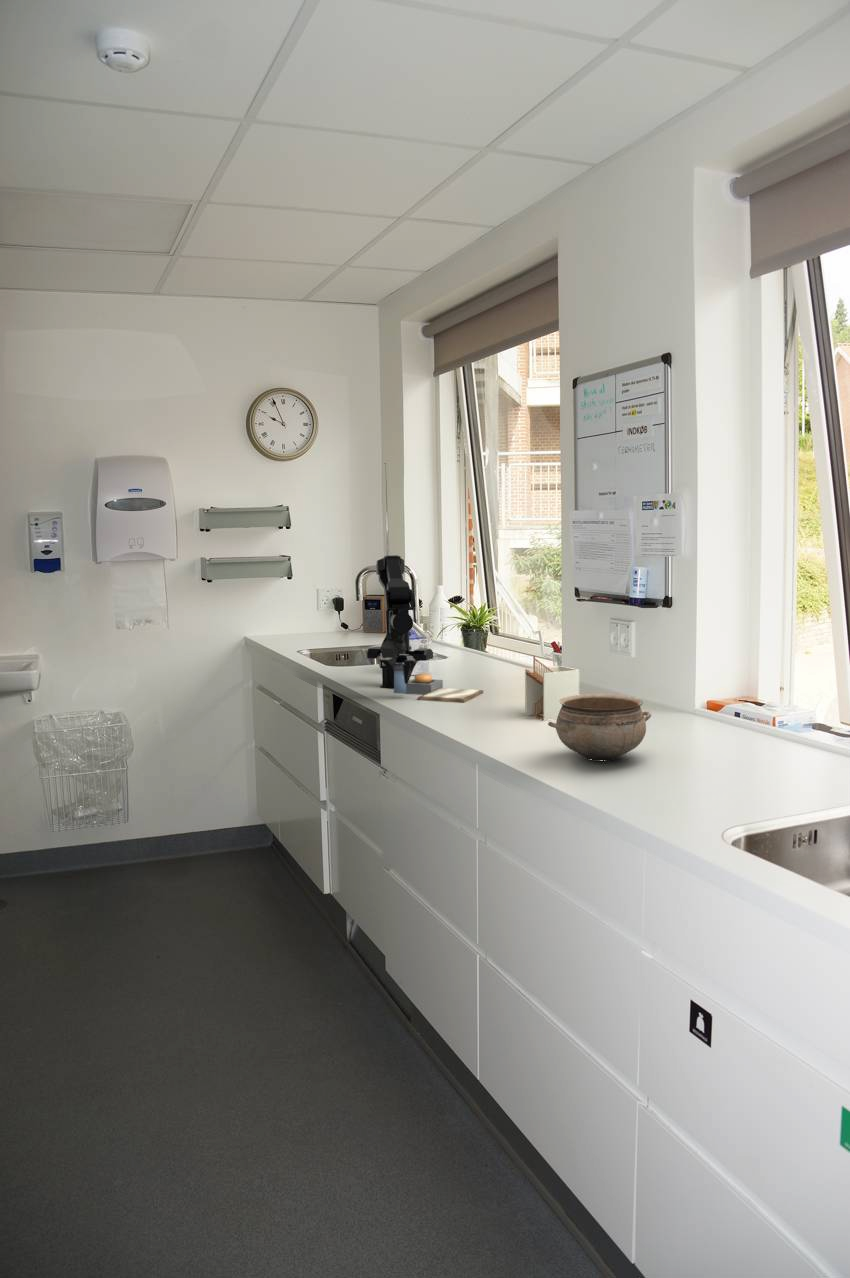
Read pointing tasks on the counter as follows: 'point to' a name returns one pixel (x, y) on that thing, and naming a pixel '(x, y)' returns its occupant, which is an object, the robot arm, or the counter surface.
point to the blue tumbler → (399, 678)
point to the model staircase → (548, 689)
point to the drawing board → (451, 695)
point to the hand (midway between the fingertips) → (400, 683)
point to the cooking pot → (601, 725)
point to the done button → (422, 678)
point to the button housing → (423, 686)
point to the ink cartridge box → (417, 643)
